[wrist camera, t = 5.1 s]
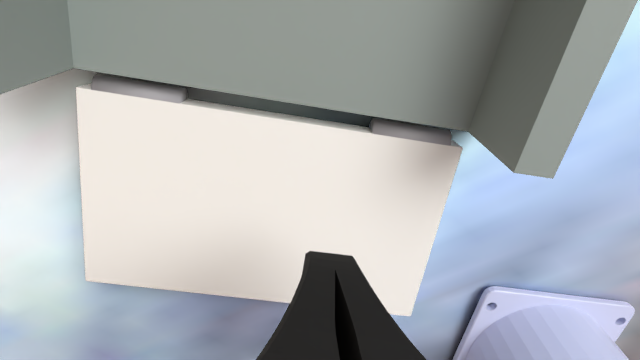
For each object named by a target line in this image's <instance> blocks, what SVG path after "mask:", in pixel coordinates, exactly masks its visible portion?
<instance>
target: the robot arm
mask: <svg viewBox="0 0 640 360" xmlns="http://www.w3.org/2000/svg"><path fill="white" fill-rule="evenodd" d="M489 303H492V304H490V305H488V304H489ZM634 313H635V309H634V308H633V307H632V306H631V305H630V304H629V303H628V302H624V301H615V300H607V299H599V298H590V297H582V296H574V295H565V294H557V293H549V292H540V291H532V290H524V289H515V288H507V287H499V286H491V287H488V288H487V289H485V290H484V292H483V293H482V295H481V298H480V300H479V302H478V304H477V307H476V309H475V311H474V313H473V315H472V318H471V320H470V322H469V324H468V326H467V329H466V331H465V333H464V335H463V338H462V340H461V342H460V344H459V346H458V349H457V351H456V353H455V355H454V357H453V360H629V359H628V358H627V357H626V355H625V354H624V353H623V352H622V351H621V350H620V349H619V347H618V346H617V345H616V344H615V341H616V340H617V338H618V337H619V335H620V334H621V333H622V331H623V330H624V328H625V327H626V325H627V324H628V322H629V321H630V319H631V318H632V316H633V315H634ZM256 360H426V359H425V358H424V356H423V355H422V354H421V353H420V352H419V351H418V350H417V349H416V348H415V346H414V345H413V344H412V343H411V342H410V340H409V339H408V338H407V337H406V335H405V334H404V333H403V331H402V330H401V329H400V328H399V326H398V325H397V324H396V322H395V321H394V320H393V318H392V317H391V315H390V314H389V313H388V311H387V310H386V308H385V307H384V305H383V304H382V302H381V301H380V300H379V298H378V297H377V295H376V293H375V292H374V290H373V289H372V287H371V286H370V284H369V282H368V281H367V279H366V277H365V276H364V274H363V272H362V271H361V269H360V267H359V265H358V264H357V262H356V260H355V259H354V257H353V256H351V255H342V254H333V253H324V252H316V251H309V252H307V253H306V254H305V260H304V265H303V271H302V276H301V279H300V282H299V284H298V287H297V289H296V291H295V294H294V296H293V298H292V301H291V303H290V305H289V306H288V308H287V310H286V312H285V314H284V316H283V318H282V320H281V322H280V323H279V325H278V327H277V328H276V330H275V332H274V333H273V335H272V337H271V338H270V340H269V341H268V343H267V344H266V346H265V347H264V349H263V350H262V352H261V353H260V354H259V356H258V357H257V359H256Z"/></svg>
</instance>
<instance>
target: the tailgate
mask: <svg viewBox="0 0 640 360" xmlns="http://www.w3.org/2000/svg"><path fill="white" fill-rule="evenodd" d="M76 101H77V121H78V141H79V161H80V180H81V200H82V220H83V240H84V259H85V279H86V281H91V282H100V283H110V284H119V285H128V286H137V287H146V288H155V289H165V290H174V291H183V292H192V293H201V294H210V295H220V296H229V297H238V298H247V299H256V300H265V301H274V302H284V303H291V301H292V298H293V296H294V294H295V291H296V289H297V287H298V284H299V282H300V279H301V276H302V271H303V265H304V260H305V254H306V253H307V252H309V251H316V252H324V253H333V254H342V255H351V256H353V257H354V259H355V260H356V262H357V264H358V265H359V267H360V269H361V271H362V272H363V274H364V276H365V277H366V279H367V281H368V282H369V284H370V286H371V287H372V289H373V290H374V292H375V293H376V295H377V297H378V298H379V300H380V301H381V302H382V304H383V305H384V307H385V308H386V310H387V311H388V313H389V314H393V315H403V316H411V313H412V310H413V307H414V303H415V300H416V297H417V294H418V290H419V287H420V284H421V281H422V278H423V274H424V271H425V268H426V265H427V262H428V258H429V255H430V252H431V249H432V245H433V242H434V239H435V236H436V233H437V229H438V226H439V223H440V220H441V217H442V213H443V210H444V207H445V204H446V200H447V197H448V194H449V191H450V188H451V184H452V181H453V178H454V175H455V172H456V168H457V165H458V162H459V159H460V155H461V152H462V149H463V148H462V147H461V146H460V145H458V144H457V143H456V142H455V141H453V140H452V135H451V131H450V130H449V129H442V128H436V127H430V126H424V125H418V124H411V123H405V122H399V121H393V120H386V119H380V118H374V117H373V118H372V119H371V121H370V125H369V127H364V126H358V125H351V124H345V123H339V122H332V121H326V120H320V119H313V118H307V117H301V116H294V115H288V114H282V113H275V112H269V111H263V110H256V109H250V108H244V107H237V106H231V105H225V104H218V103H212V102H206V101H199V100H193V99H188V94H187V89H186V87H181V86H175V85H169V84H162V83H156V82H150V81H144V80H137V79H131V78H125V77H119V76H113V75H106V74H100V73H97V74H95V76H94V77H93V79H92V83H89V84H86V85H82V86H79V87H76Z"/></svg>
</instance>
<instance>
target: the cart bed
mask: <svg viewBox="0 0 640 360" xmlns="http://www.w3.org/2000/svg"><path fill="white" fill-rule="evenodd" d="M637 1H638V0H0V94H2V93H5V92H8V91H11V90H14V89H16V88H19V87H22V86H25V85H28V84H30V83H33V82H36V81H39V80H42V79H45V78H47V77H50V76H53V75H56V74H59V73H62V72H64V71H67V70H70V69H73V68H75V69H82V70H88V71H94V72H100V73H107V74H113V75H119V76H125V77H131V78H138V79H144V80H150V81H156V82H162V83H169V84H175V85H181V86H187V87H194V88H200V89H206V90H212V91H218V92H225V93H231V94H237V95H243V96H249V97H256V98H262V99H268V100H274V101H281V102H287V103H293V104H299V105H305V106H312V107H318V108H324V109H330V110H337V111H343V112H349V113H355V114H361V115H368V116H374V117H380V118H386V119H392V120H399V121H405V122H411V123H417V124H424V125H430V126H436V127H442V128H448V129H455V130H461V131H467V132H469V133H470V134H471V135H473V136H474V137H475V138H476V139H477V140H478V141H479V142H480V143H481V144H483V145H484V146H485V147H486V148H487V149H488V150H489V151H490V152H491V153H493V154H494V155H495V156H496V157H497V158H498V159H499V160H500V161H501V162H502V163H504V164H505V165H506V166H507V167H508V168H509V169H510V170H511V171H512V172H514V173H519V174H526V175H533V176H539V177H546V178H552V179H553V178H554V176H555V174H556V171H557V169H558V167H559V165H560V163H561V161H562V159H563V157H564V155H565V152H566V150H567V148H568V146H569V144H570V142H571V140H572V138H573V136H574V133H575V131H576V129H577V127H578V125H579V123H580V121H581V119H582V117H583V114H584V112H585V110H586V108H587V106H588V104H589V102H590V100H591V98H592V95H593V93H594V91H595V89H596V87H597V85H598V83H599V81H600V79H601V77H602V74H603V72H604V70H605V68H606V66H607V64H608V62H609V60H610V58H611V55H612V53H613V51H614V49H615V47H616V45H617V43H618V41H619V39H620V36H621V34H622V32H623V30H624V28H625V26H626V24H627V22H628V20H629V17H630V15H631V13H632V11H633V9H634V7H635V5H636V3H637Z"/></svg>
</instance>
